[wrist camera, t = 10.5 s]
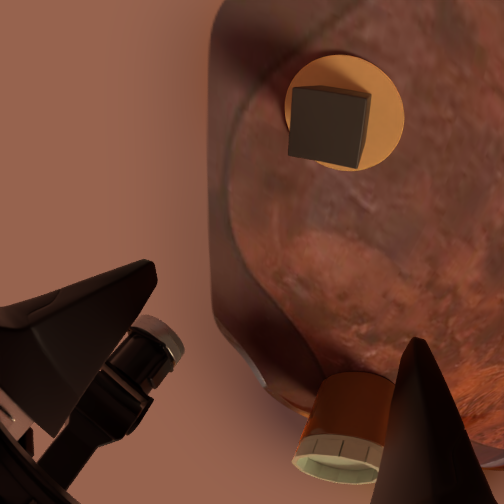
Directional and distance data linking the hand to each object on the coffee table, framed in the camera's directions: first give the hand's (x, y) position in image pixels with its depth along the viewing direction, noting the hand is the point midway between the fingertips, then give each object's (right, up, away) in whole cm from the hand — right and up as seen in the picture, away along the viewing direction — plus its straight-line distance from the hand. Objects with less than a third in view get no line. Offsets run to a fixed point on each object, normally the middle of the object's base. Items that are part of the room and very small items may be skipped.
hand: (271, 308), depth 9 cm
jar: (+11, -14, +19) cm, 25 cm away
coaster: (+5, +10, +6) cm, 12 cm away
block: (+5, +9, +6) cm, 12 cm away
